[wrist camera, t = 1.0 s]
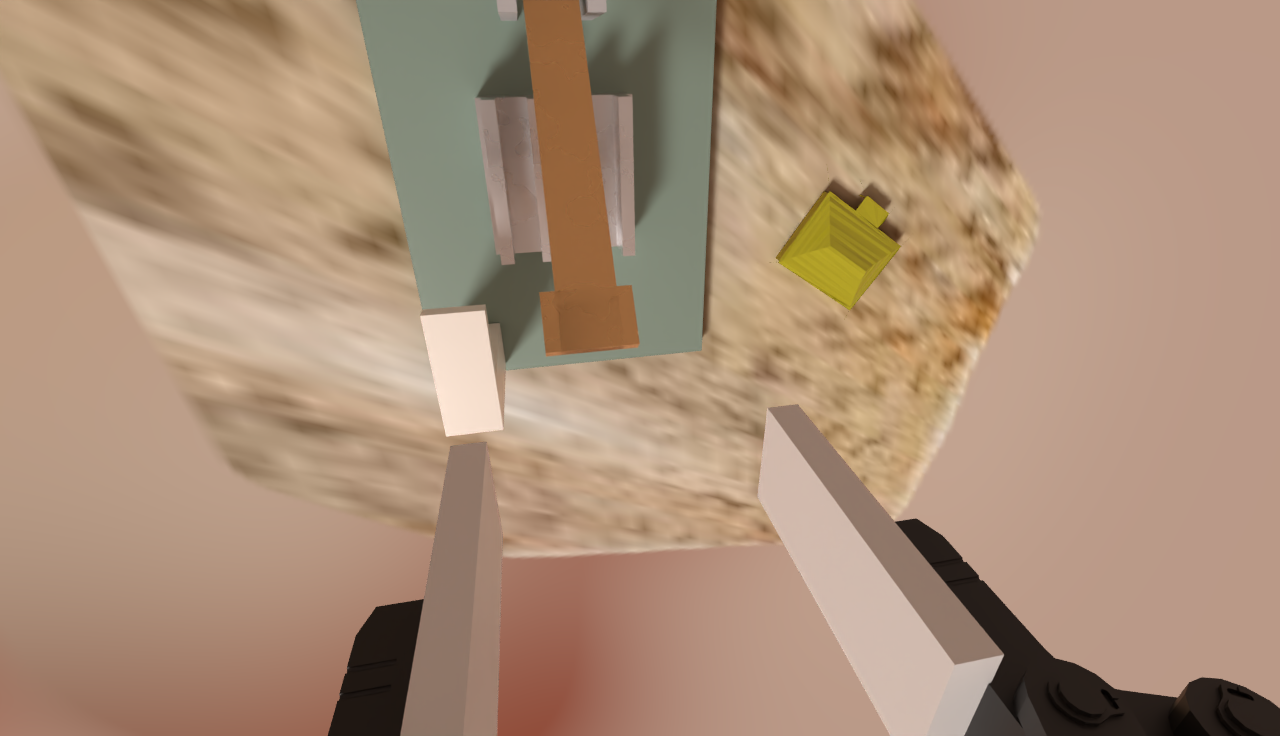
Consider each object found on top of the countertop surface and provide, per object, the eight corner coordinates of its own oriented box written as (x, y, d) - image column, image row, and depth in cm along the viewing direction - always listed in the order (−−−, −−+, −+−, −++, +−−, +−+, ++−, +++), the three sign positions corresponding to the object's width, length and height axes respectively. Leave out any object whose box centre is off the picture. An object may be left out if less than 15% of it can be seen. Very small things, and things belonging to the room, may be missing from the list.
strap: (508, -3, 25) (506, -22, 24) (589, -2, 26) (590, -22, 25) (545, 357, 22) (545, 351, 21) (636, 348, 22) (640, 342, 21)
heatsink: (476, 96, 30) (471, 100, 26) (625, 92, 31) (639, 96, 28) (497, 244, 34) (495, 265, 30) (629, 235, 35) (641, 255, 31)
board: (338, -107, 26) (287, -157, 20) (713, -96, 29) (764, -136, 23) (438, 368, 38) (424, 424, 32) (696, 343, 41) (727, 390, 35)
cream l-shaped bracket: (439, 265, 33) (420, 315, 27) (490, 262, 34) (484, 310, 27) (458, 369, 37) (446, 436, 30) (505, 364, 37) (503, 429, 31)
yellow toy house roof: (741, 262, 39) (756, 275, 37) (825, 144, 37) (848, 149, 34) (839, 325, 43) (858, 341, 41) (921, 222, 41) (947, 233, 38)
